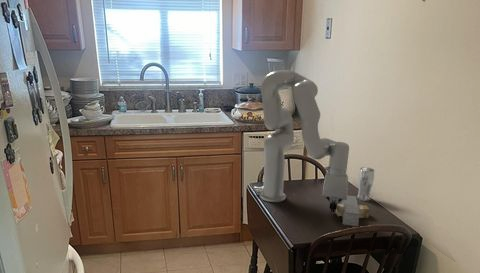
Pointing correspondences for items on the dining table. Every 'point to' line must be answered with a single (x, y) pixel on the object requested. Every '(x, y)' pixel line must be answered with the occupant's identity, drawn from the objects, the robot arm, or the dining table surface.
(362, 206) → the bar
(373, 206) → the dining table surface
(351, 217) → the housing
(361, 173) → the beer glass
